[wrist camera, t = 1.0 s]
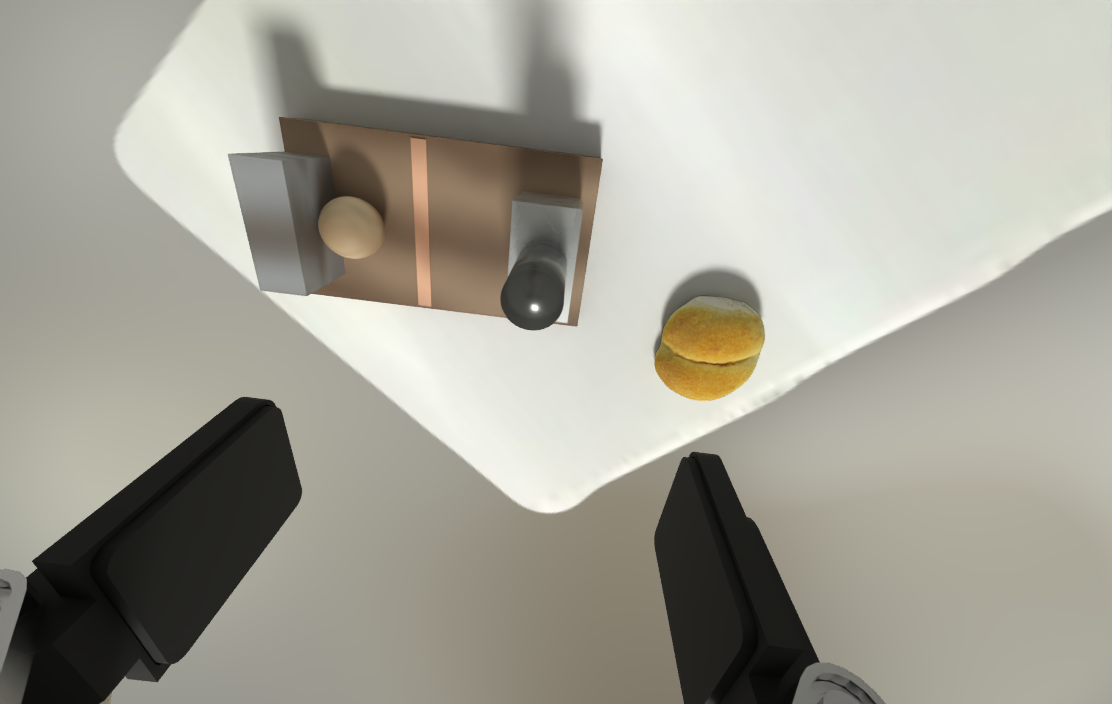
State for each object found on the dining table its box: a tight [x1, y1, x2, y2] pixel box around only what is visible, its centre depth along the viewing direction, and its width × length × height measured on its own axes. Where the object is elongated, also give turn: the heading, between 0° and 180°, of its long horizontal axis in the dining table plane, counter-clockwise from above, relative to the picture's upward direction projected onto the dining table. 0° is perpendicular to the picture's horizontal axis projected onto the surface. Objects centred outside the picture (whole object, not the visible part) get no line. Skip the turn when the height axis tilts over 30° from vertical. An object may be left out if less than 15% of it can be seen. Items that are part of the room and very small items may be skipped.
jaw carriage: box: [500, 191, 583, 330], centre depth 24 cm, size 7×4×11 cm, turn 173°
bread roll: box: [655, 296, 765, 401], centre depth 33 cm, size 8×9×4 cm
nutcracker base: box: [228, 117, 603, 326], centre depth 28 cm, size 12×21×7 cm, turn 83°
